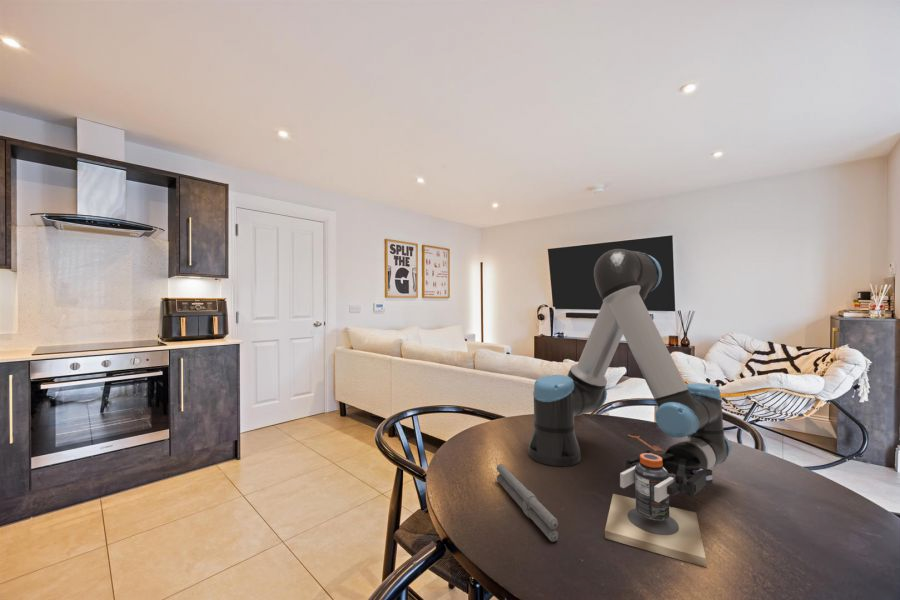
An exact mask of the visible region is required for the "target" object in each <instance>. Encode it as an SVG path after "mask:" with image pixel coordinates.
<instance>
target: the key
mask: <svg viewBox="0 0 900 600" xmlns="http://www.w3.org/2000/svg"><path fill="white" fill-rule="evenodd" d="M627 436H628V437H629V438H633V439H636V440H638V441H639V442H641V443H642V444H643V445H646V447H648V448H649V449H651V450H652V451H654V452H659V451H660V452H661V451H663V452H664V449H662V448H661V447H660V446H658V445H650V444H649V443H647V442H646V441H644V439H642V438H640V437H641V436H640V435H638V434H636V433H628V435H627Z"/></svg>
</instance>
